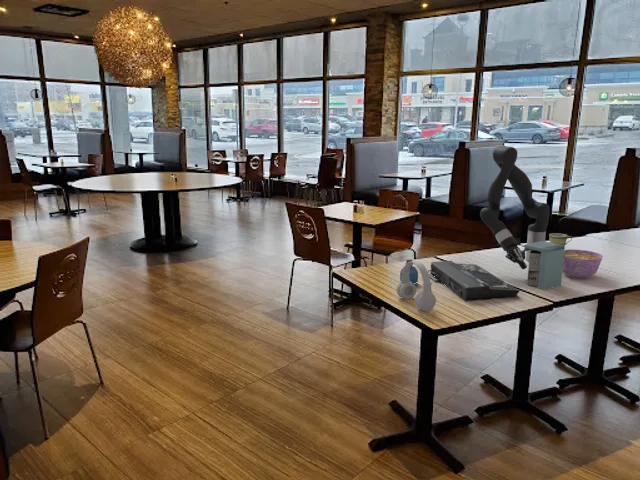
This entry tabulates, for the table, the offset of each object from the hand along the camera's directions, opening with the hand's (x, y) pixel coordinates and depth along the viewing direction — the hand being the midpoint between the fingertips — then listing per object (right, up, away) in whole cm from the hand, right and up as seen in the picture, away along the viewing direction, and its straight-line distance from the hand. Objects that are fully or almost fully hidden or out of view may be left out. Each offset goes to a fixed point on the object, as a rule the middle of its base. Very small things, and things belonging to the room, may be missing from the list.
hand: (524, 268), depth 241 cm
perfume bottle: (-58, -8, -2) cm, 59 cm away
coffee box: (+3, -7, -5) cm, 9 cm away
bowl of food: (+28, -4, +4) cm, 29 cm away
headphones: (-60, -14, -29) cm, 69 cm away
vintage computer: (-30, -8, -5) cm, 31 cm away
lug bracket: (+5, -7, -7) cm, 11 cm away
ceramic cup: (+43, +7, +53) cm, 68 cm away
